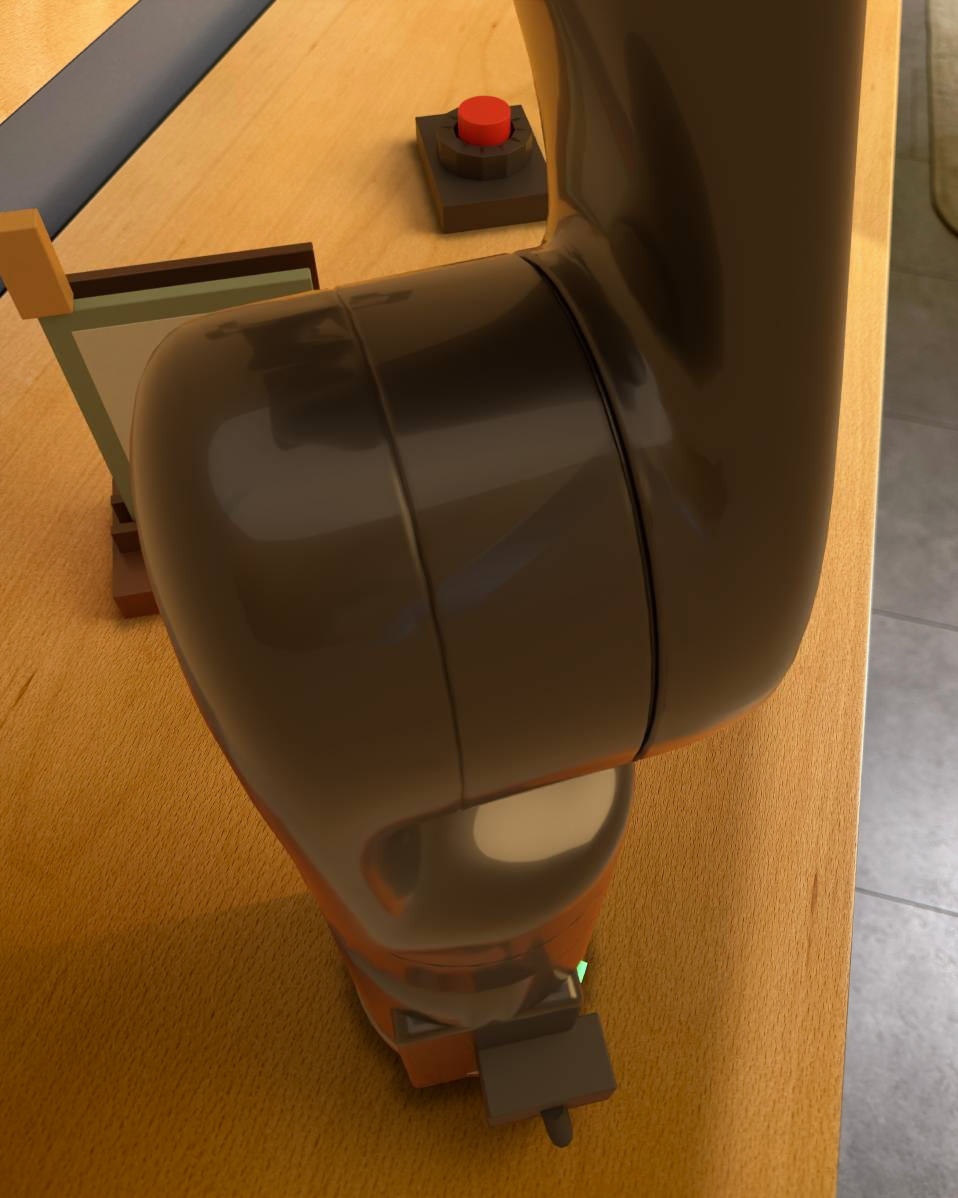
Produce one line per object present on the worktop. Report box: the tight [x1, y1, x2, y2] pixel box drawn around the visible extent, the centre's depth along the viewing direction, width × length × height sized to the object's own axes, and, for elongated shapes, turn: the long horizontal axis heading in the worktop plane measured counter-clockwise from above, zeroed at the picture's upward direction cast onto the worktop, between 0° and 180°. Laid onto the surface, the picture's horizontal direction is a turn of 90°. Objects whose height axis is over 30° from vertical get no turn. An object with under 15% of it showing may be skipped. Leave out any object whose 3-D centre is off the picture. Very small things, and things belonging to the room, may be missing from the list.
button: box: [457, 95, 511, 147], centre depth 68 cm, size 4×4×2 cm
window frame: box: [65, 241, 321, 619], centre depth 46 cm, size 8×26×20 cm, turn 102°
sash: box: [0, 208, 313, 522], centre depth 44 cm, size 1×12×18 cm, turn 102°
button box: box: [414, 104, 548, 235], centre depth 70 cm, size 11×8×4 cm
